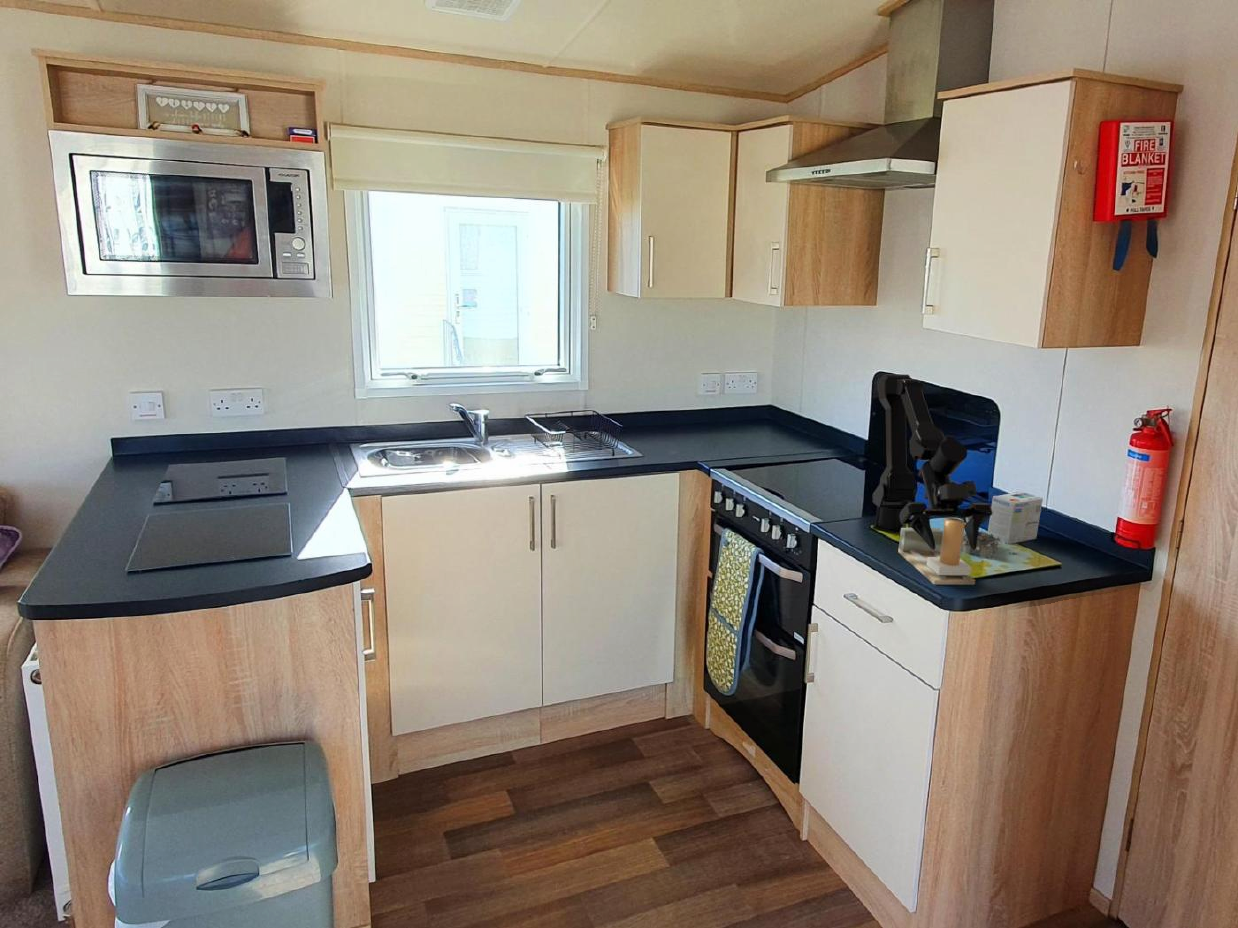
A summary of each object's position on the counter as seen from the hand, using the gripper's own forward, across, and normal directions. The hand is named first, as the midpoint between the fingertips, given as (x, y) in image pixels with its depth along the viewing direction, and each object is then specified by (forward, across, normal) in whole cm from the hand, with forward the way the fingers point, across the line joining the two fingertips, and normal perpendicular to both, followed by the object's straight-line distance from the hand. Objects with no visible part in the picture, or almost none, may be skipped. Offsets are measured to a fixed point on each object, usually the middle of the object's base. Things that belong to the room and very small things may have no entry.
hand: (954, 549), depth 183 cm
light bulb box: (-15, +29, +25) cm, 41 cm away
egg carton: (-8, +16, +19) cm, 26 cm away
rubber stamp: (+3, 0, +5) cm, 5 cm away
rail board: (0, 0, +10) cm, 10 cm away
